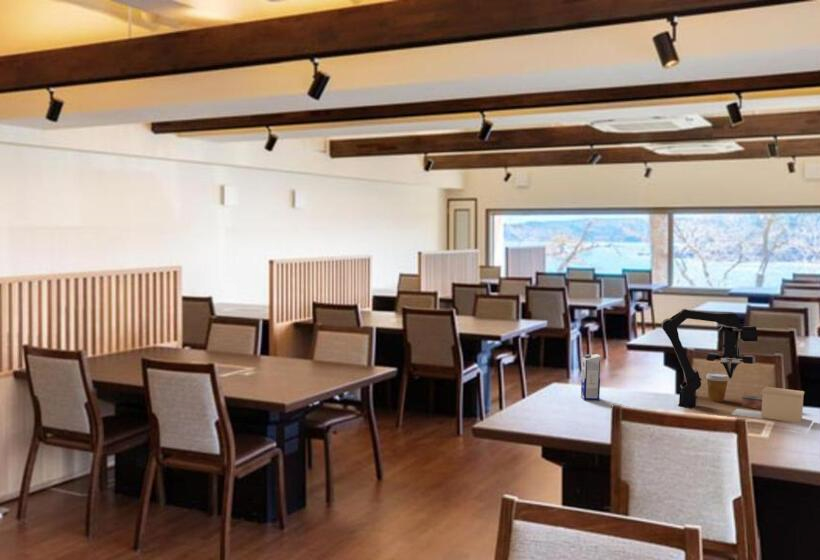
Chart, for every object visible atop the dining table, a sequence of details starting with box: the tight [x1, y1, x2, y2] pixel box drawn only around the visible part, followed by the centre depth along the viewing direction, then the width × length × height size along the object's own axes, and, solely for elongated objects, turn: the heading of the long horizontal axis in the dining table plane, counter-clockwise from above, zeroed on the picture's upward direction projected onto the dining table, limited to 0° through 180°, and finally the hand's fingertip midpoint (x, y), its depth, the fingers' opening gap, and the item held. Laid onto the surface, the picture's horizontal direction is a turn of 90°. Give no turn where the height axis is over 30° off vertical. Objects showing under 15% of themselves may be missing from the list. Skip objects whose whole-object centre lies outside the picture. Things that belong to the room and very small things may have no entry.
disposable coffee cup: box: [705, 372, 730, 403], centre depth 348 cm, size 10×10×12 cm
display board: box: [731, 408, 764, 420], centre depth 320 cm, size 24×13×1 cm, turn 57°
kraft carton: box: [760, 386, 805, 423], centre depth 316 cm, size 14×9×11 cm, turn 57°
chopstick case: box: [741, 394, 762, 410], centre depth 333 cm, size 20×5×5 cm, turn 57°
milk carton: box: [580, 353, 602, 402], centre depth 346 cm, size 7×7×20 cm
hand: (730, 378), depth 332 cm, fingers closed
